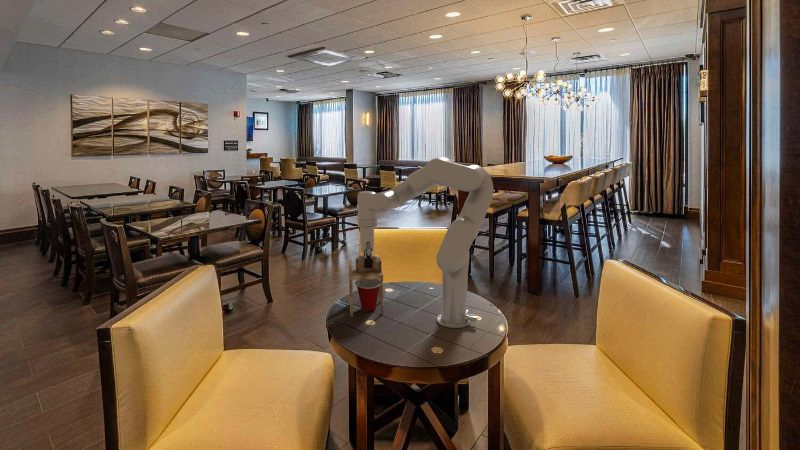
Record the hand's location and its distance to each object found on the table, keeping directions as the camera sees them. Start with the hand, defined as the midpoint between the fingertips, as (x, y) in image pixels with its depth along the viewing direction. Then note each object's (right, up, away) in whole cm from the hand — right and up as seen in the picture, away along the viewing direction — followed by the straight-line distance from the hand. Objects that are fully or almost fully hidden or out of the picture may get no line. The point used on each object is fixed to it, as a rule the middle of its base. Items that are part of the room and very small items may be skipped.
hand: (368, 264), depth 172 cm
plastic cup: (0, -19, +4) cm, 19 cm away
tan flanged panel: (-1, -19, +4) cm, 19 cm away
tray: (0, -3, 0) cm, 3 cm away
